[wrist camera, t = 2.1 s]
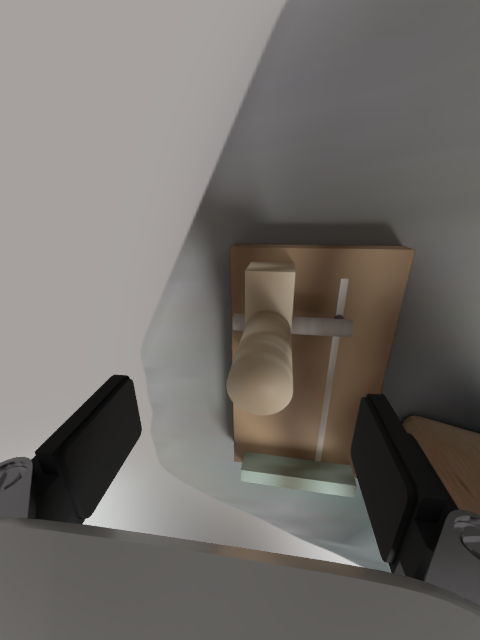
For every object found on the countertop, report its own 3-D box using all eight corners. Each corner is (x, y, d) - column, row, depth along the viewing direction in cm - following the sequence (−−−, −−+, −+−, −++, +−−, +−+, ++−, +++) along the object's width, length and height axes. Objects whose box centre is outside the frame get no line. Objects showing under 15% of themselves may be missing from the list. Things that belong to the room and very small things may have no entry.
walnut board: (402, 245, 19) (430, 254, 15) (354, 459, 27) (365, 499, 23) (234, 243, 20) (223, 251, 17) (237, 445, 28) (230, 479, 25)
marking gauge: (355, 264, 18) (414, 311, 9) (338, 366, 21) (372, 469, 12) (237, 261, 19) (199, 301, 11) (238, 358, 22) (209, 447, 14)
